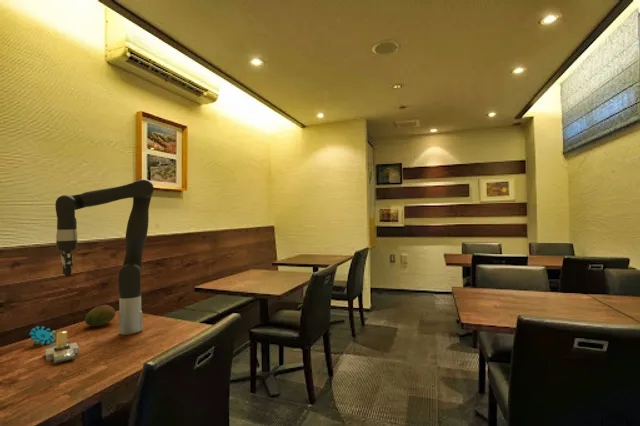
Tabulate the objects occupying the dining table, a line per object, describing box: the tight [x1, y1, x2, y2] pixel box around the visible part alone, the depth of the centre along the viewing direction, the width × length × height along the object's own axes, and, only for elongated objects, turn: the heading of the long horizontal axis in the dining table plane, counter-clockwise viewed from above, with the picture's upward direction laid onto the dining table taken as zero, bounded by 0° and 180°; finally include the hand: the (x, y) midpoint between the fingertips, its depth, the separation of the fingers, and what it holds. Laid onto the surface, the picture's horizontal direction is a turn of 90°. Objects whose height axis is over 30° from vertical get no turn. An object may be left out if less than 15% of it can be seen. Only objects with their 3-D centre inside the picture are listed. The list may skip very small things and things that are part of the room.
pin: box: [55, 330, 68, 352], centre depth 132 cm, size 4×4×9 cm
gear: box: [28, 326, 56, 346], centre depth 143 cm, size 11×6×10 cm
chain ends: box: [45, 339, 80, 365], centre depth 132 cm, size 10×22×3 cm, turn 43°
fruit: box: [84, 304, 116, 327], centre depth 167 cm, size 12×13×10 cm
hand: (67, 275), depth 145 cm, fingers open, 8 cm apart
